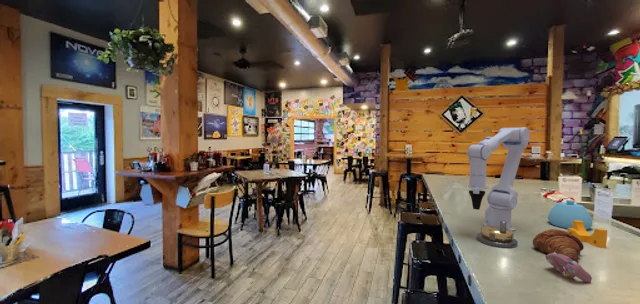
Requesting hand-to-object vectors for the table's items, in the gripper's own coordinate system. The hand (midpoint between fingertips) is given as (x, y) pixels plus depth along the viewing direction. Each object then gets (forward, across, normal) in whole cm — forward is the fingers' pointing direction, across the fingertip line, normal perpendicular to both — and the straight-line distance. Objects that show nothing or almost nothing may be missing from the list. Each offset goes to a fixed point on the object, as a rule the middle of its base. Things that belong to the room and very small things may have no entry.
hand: (476, 209), depth 114 cm
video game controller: (+11, -24, -24) cm, 36 cm away
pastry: (+11, -4, -24) cm, 27 cm away
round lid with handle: (+9, -4, -7) cm, 12 cm away
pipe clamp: (+11, +15, -36) cm, 41 cm away
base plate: (+10, -4, -7) cm, 13 cm away
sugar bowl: (+11, +37, -35) cm, 52 cm away
